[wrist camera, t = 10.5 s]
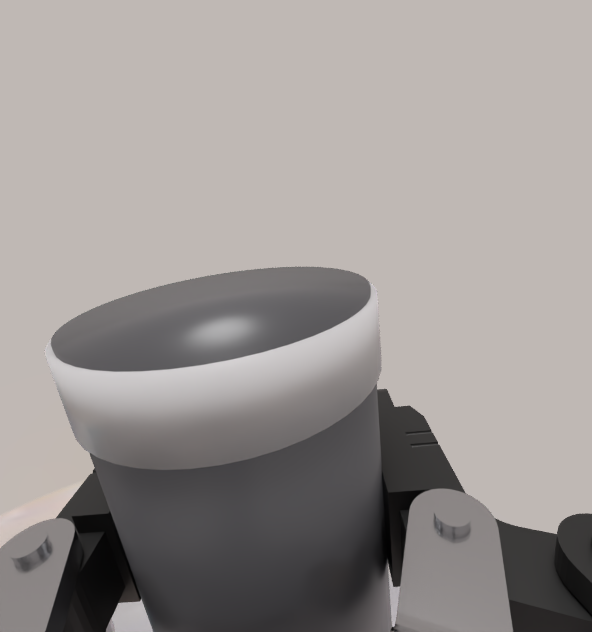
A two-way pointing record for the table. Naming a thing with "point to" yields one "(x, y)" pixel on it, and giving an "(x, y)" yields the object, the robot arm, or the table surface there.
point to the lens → (239, 447)
